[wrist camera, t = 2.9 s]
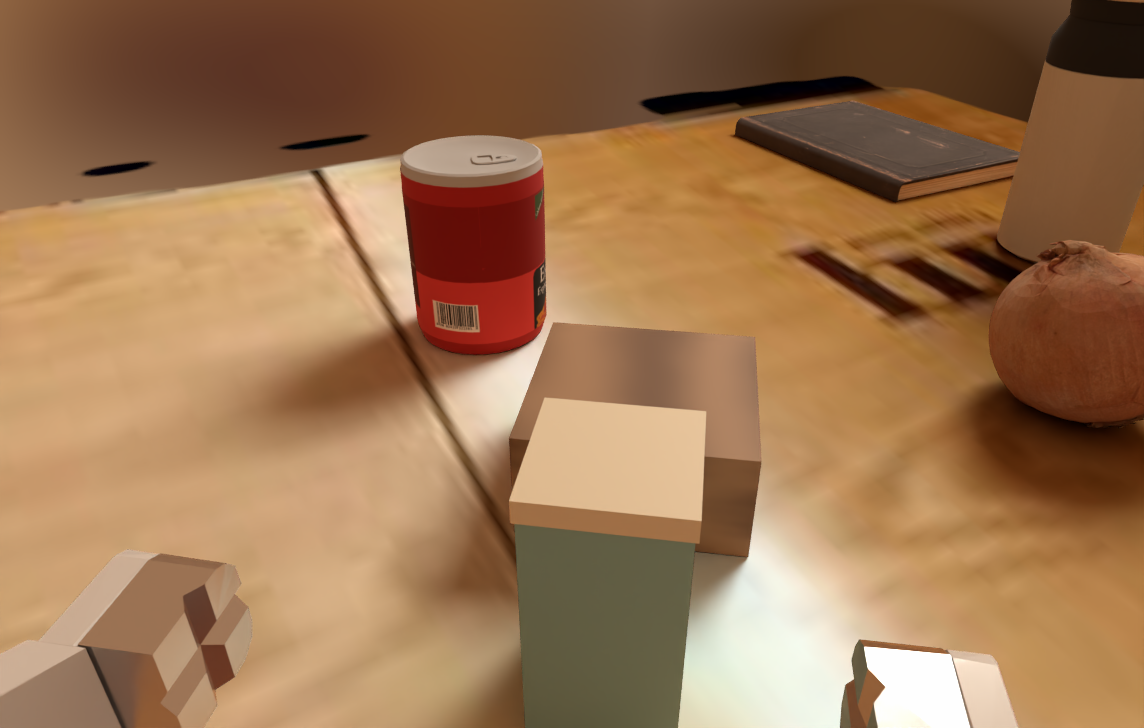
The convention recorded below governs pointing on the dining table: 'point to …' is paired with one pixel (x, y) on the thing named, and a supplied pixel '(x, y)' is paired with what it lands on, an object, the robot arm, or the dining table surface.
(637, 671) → the tea tin
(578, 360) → the riser block
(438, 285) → the canned food
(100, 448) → the dining table surface
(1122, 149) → the travel mug
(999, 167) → the hardcover book
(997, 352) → the onion
